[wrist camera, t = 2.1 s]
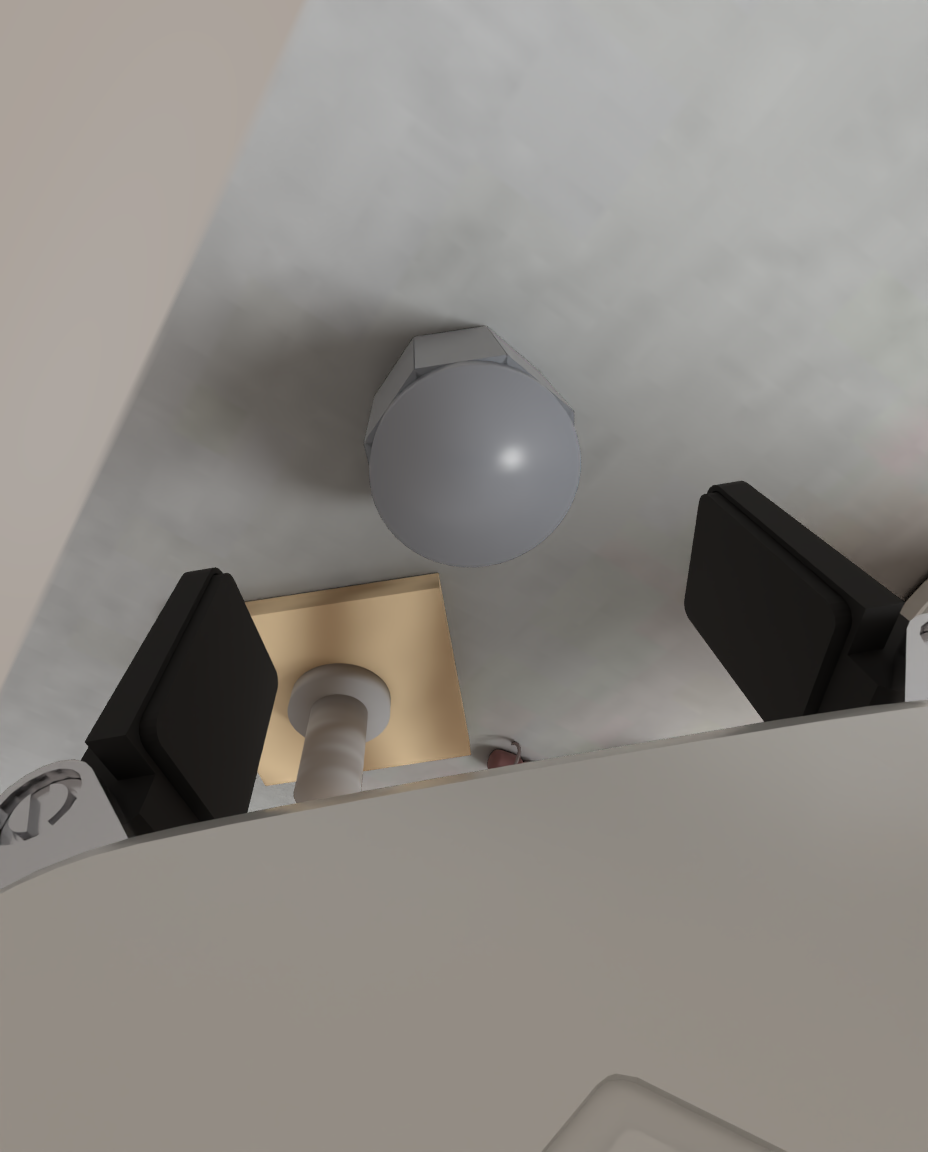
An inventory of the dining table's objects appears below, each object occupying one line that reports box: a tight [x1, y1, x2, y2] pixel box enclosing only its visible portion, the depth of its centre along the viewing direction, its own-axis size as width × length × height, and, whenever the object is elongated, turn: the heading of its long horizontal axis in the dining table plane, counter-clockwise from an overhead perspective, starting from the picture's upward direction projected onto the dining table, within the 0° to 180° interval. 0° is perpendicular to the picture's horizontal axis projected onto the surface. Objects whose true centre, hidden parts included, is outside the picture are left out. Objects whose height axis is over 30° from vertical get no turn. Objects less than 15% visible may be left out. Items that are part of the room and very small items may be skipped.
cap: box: [364, 326, 581, 567], centre depth 18 cm, size 6×6×6 cm
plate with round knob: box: [245, 573, 471, 803], centre depth 25 cm, size 12×12×7 cm
